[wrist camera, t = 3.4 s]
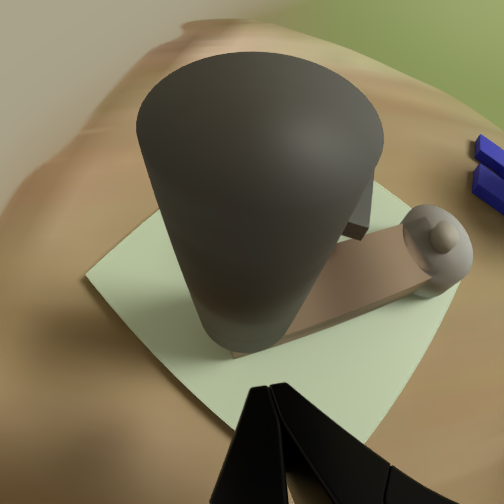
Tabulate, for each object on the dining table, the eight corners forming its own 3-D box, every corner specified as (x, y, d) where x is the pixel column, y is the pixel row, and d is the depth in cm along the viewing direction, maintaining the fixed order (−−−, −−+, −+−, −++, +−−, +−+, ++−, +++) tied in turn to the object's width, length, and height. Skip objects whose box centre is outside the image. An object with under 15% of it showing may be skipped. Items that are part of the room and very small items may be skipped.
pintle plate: (317, 491, 11) (320, 494, 11) (89, 279, 16) (85, 274, 15) (465, 261, 17) (470, 257, 17) (278, 126, 21) (278, 119, 21)
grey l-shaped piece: (429, 217, 17) (529, 72, 7) (465, 282, 15) (599, 157, 6) (192, 287, 15) (130, 63, 5) (220, 380, 13) (161, 277, 3)
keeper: (350, 189, 19) (376, 129, 15) (335, 279, 16) (368, 228, 12) (303, 175, 19) (319, 112, 15) (278, 263, 17) (293, 205, 12)
